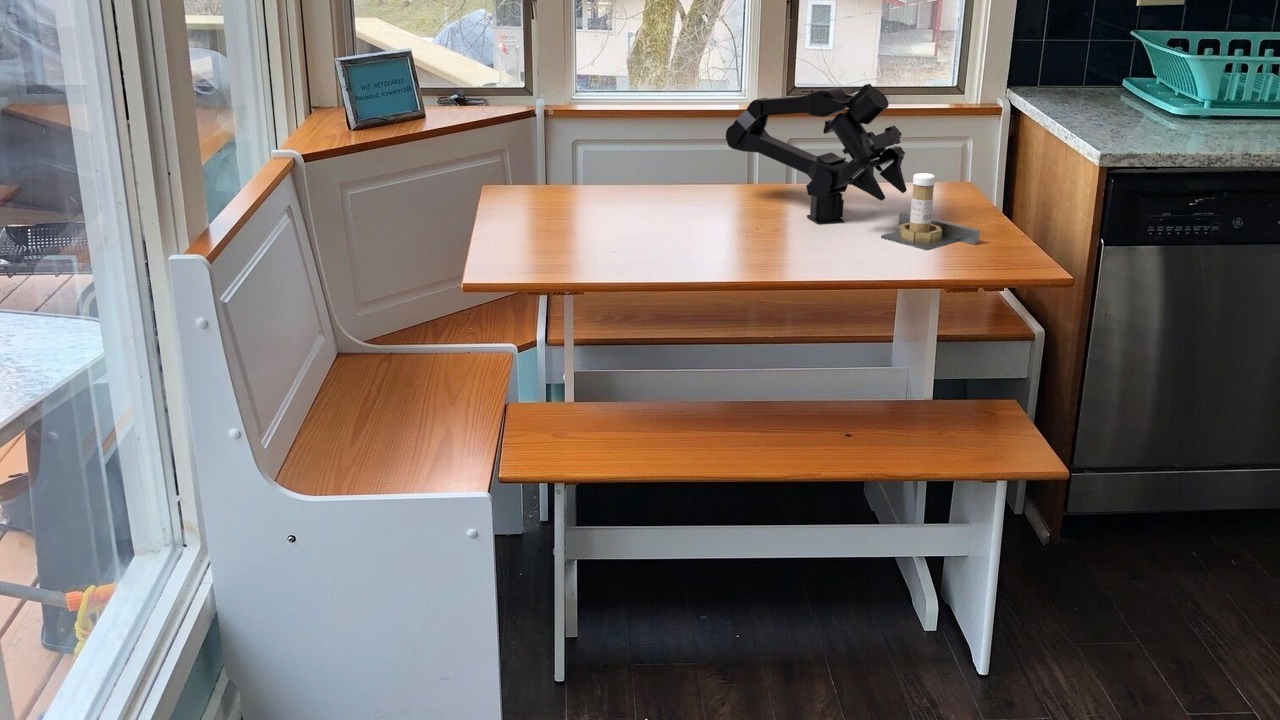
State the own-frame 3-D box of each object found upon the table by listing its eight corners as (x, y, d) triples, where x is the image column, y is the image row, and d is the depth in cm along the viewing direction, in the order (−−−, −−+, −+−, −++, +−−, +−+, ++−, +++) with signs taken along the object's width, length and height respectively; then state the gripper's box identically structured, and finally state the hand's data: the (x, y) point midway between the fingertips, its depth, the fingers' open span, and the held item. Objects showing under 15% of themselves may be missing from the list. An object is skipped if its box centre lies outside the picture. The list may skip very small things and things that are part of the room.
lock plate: (866, 234, 263) (867, 220, 262) (902, 224, 271) (903, 211, 270) (942, 254, 249) (943, 240, 248) (978, 243, 257) (979, 229, 256)
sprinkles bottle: (923, 233, 262) (929, 171, 257) (933, 238, 258) (939, 176, 253) (904, 234, 261) (909, 172, 256) (913, 240, 257) (919, 177, 252)
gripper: (856, 120, 251) (898, 181, 249) (901, 109, 264) (941, 166, 262) (821, 152, 259) (862, 211, 256) (866, 139, 272) (905, 196, 269)
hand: (894, 195), depth 261 cm, fingers open, 9 cm apart
